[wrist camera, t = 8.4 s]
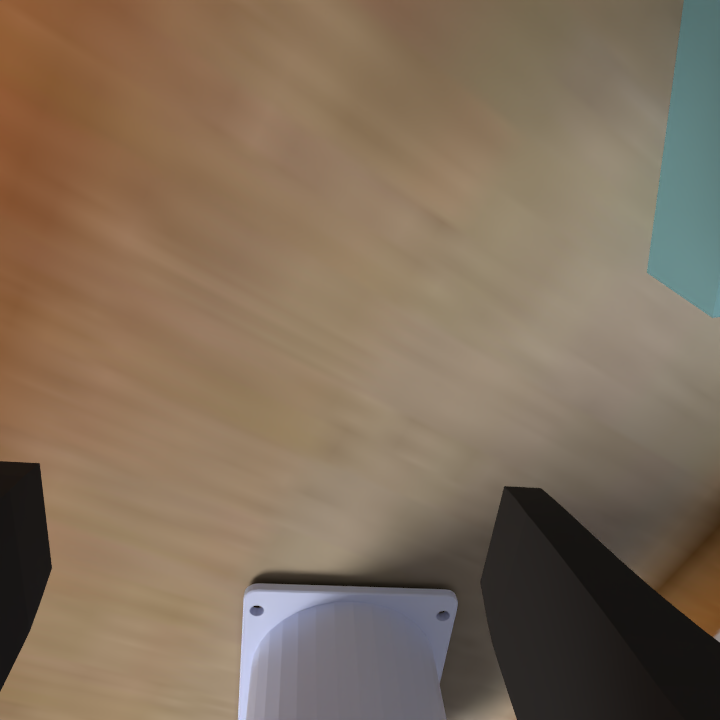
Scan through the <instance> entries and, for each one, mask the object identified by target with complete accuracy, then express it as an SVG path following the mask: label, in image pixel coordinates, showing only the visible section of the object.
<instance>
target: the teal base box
mask: <svg viewBox="0 0 720 720" xmlns="http://www.w3.org/2000/svg"><path fill="white" fill-rule="evenodd" d="M647 273H648V274H650V275H651V276H653V277H654V278H656V279H657V280H658V281H660V282H661V283H663V284H664V285H666V286H667V287H669V288H670V289H671V290H673V291H674V292H676V293H677V294H679V295H680V296H682V297H683V298H685V299H686V300H687V301H689V302H690V303H692V304H693V305H695V306H696V307H698V308H699V309H701V310H702V311H703V312H705V313H706V314H708V315H709V316H711V317H712V318H714V317H720V0H684V4H683V12H682V19H681V26H680V34H679V41H678V48H677V56H676V63H675V70H674V78H673V85H672V93H671V100H670V107H669V115H668V122H667V129H666V137H665V144H664V151H663V159H662V166H661V173H660V181H659V188H658V195H657V203H656V210H655V217H654V225H653V232H652V240H651V247H650V254H649V262H648V269H647Z"/></svg>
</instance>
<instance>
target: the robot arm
mask: <svg viewBox="0 0 720 720" xmlns="http://www.w3.org/2000/svg"><path fill="white" fill-rule="evenodd" d="M51 569H52V565H51V557H50V548H49V540H48V531H47V523H46V514H45V506H44V497H43V489H42V480H41V471H40V463H23V462H3V461H0V691H1V689H2V687H3V685H4V683H5V681H6V679H7V677H8V675H9V673H10V671H11V669H12V667H13V664H14V662H15V660H16V658H17V656H18V654H19V652H20V650H21V648H22V646H23V644H24V642H25V640H26V638H27V636H28V634H29V632H30V629H31V626H32V624H33V621H34V618H35V615H36V613H37V610H38V607H39V604H40V602H41V599H42V596H43V593H44V590H45V587H46V584H47V581H48V578H49V575H50V572H51ZM481 588H482V594H483V599H484V605H485V610H486V616H487V621H488V625H489V630H490V635H491V640H492V644H493V647H494V650H495V653H496V657H497V660H498V663H499V666H500V669H501V672H502V675H503V678H504V681H505V685H506V688H507V691H508V694H509V697H510V700H511V703H512V706H513V709H514V712H515V715H516V718H517V720H720V642H718V641H717V640H716V639H714V638H713V637H712V636H710V635H709V634H708V633H706V632H705V631H704V630H702V629H701V628H700V627H699V626H697V625H696V624H695V623H694V622H693V621H691V620H690V619H689V618H688V617H686V616H685V615H684V614H683V613H681V612H680V611H679V610H678V609H676V608H675V607H674V606H673V605H672V604H670V603H669V602H668V601H667V600H665V599H664V598H663V597H662V596H661V595H659V594H658V593H657V592H656V591H655V590H654V589H652V588H651V587H650V586H649V585H648V584H647V583H645V582H644V581H643V580H642V579H641V578H640V577H639V576H637V575H636V574H635V573H634V572H633V571H632V570H631V569H629V568H628V567H627V566H626V565H625V564H624V563H623V562H622V561H621V560H619V559H618V558H617V557H616V556H615V555H614V554H613V553H612V552H611V551H609V550H608V549H607V548H606V547H605V546H604V545H603V544H602V543H601V542H600V541H599V540H597V539H596V538H595V537H594V536H593V535H592V534H591V533H590V532H589V531H588V530H587V529H586V528H585V527H583V526H582V525H581V524H580V523H579V522H578V521H577V520H576V519H575V518H574V517H573V516H572V515H570V514H569V513H568V512H567V511H566V510H565V509H564V508H563V507H562V506H561V505H560V504H558V503H557V502H556V501H555V500H554V499H553V498H552V497H551V496H549V495H548V494H547V493H546V492H545V491H543V490H542V489H541V488H526V487H506V486H504V490H503V494H502V498H501V502H500V506H499V510H498V514H497V518H496V522H495V526H494V530H493V534H492V538H491V542H490V546H489V550H488V554H487V558H486V562H485V566H484V570H483V574H482V578H481ZM253 606H261V607H260V608H255V607H253ZM457 607H458V601H457V597H456V595H455V593H454V592H452V591H451V590H446V589H418V588H387V587H356V586H326V585H295V584H264V583H257V584H252V585H250V586H248V587H247V588H246V590H245V593H244V604H243V625H242V646H241V667H240V688H239V709H238V720H447V719H446V714H445V709H444V704H443V699H442V694H441V689H440V680H441V676H442V672H443V667H444V663H445V659H446V654H447V650H448V646H449V642H450V637H451V633H452V629H453V624H454V620H455V616H456V612H457ZM440 611H445V612H444V613H439V612H440Z"/></svg>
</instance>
